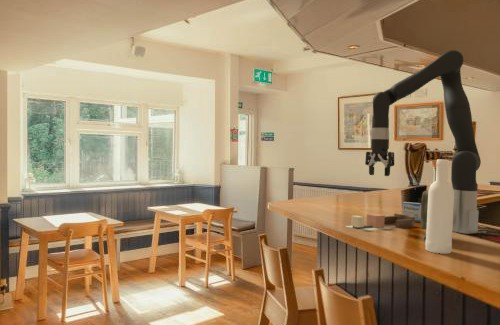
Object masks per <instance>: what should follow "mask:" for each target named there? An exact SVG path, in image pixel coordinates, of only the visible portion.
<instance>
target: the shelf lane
mask: <svg viewBox="0 0 500 325" xmlns="http://www.w3.org/2000/svg"><path fill="white" fill-rule="evenodd" d="M415 224H416V221H415V217H412V216H407V215H402V214H401V213H394V214H393V215H388V216H386V215H385V220H384V228H361V229H355V228H353V226H351V225H345V227H347V228H350V229H354V230H358V231H362V232H368V231H369V232H371V231H372V232H373V231H380V230H381V231H382V230H383V231H384V230H391V229H393V230H394V229H395V230H396V229H405V228H414V227H415V228H416V227H417V226H416V225H415ZM364 225H367V223H366V224H364Z"/></svg>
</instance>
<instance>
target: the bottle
mask: <svg viewBox="0 0 500 325" xmlns="http://www.w3.org/2000/svg"><path fill="white" fill-rule="evenodd" d="M435 165H436V168H435V170H436V171H435V180H434V181H433V182H432V183H431V184H430V186H429V188H428V209H427V229H426V230H425V231H426V232H425V236H426V240H425V242H424V243H425V250H426V251H427V252H430V253H433V254H439V253H440V255H447V254H448V255H449V254H451V253H452V247H453V231H452V227H453V208H454V190H453V187H452V183H450V182H449V166H450V162H449V159H443V158H442V159H440V158H439V159H436V163H435Z"/></svg>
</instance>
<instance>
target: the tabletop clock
mask: <svg viewBox="0 0 500 325" xmlns="http://www.w3.org/2000/svg"><path fill="white" fill-rule="evenodd" d="M428 191H429V189H427V190H424V191H422V194H421V202H420V203H421V221H420V222H419V223H420V224H419V226H420V229H421V230H425V231H426V229H427V209H428ZM453 211H454V208H453ZM423 240H424V241H426V235H424V236H423Z"/></svg>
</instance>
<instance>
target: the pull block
mask: <svg viewBox="0 0 500 325" xmlns="http://www.w3.org/2000/svg"><path fill="white" fill-rule="evenodd" d="M385 216H386V215H383V214H378V213H367V214H366V224H367V225H365V224H364V223H365V217H364V216H360V215H351V216H350V218H351V219H350V220H351V222H350V226H353V228H352V229H354V228H355V229H354V230H357V229H361V228H384V220H385Z"/></svg>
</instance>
